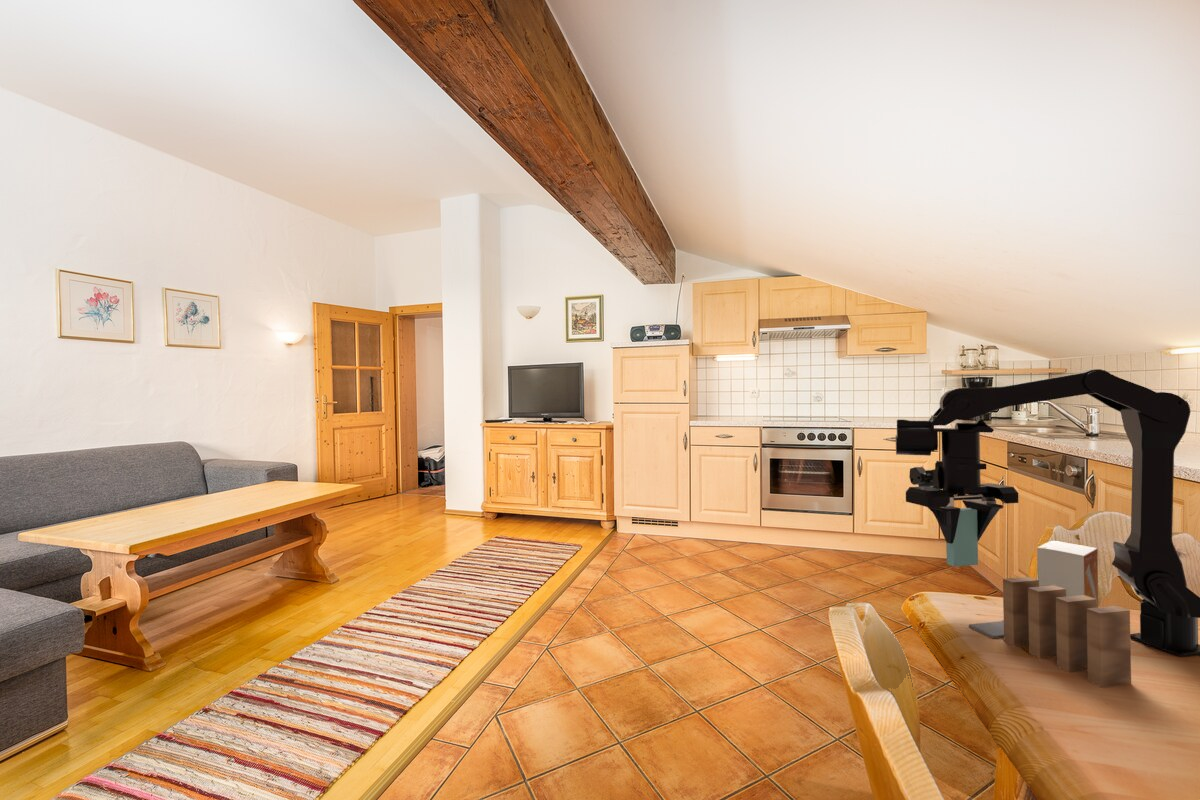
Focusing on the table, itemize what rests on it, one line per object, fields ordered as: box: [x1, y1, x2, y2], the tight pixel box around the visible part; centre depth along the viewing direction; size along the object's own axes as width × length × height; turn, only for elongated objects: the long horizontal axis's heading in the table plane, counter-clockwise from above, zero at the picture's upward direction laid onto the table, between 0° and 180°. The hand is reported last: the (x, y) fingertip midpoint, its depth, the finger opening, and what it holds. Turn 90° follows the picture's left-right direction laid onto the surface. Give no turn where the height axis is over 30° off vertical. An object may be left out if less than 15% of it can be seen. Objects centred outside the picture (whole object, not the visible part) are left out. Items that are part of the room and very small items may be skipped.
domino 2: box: [1002, 576, 1039, 646], centre depth 81 cm, size 5×2×10 cm, turn 100°
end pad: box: [968, 620, 1004, 639], centre depth 85 cm, size 7×4×1 cm, turn 100°
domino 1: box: [945, 507, 979, 568], centre depth 92 cm, size 5×2×10 cm, turn 100°
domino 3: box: [1028, 585, 1066, 659], centre depth 77 cm, size 5×2×10 cm, turn 100°
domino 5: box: [1087, 605, 1132, 688], centre depth 69 cm, size 5×2×10 cm, turn 100°
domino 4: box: [1056, 595, 1096, 673], centre depth 73 cm, size 5×2×10 cm, turn 100°
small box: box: [1036, 540, 1099, 608], centre depth 88 cm, size 8×6×13 cm
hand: (962, 542), depth 92 cm, fingers closed on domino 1, 5 cm apart
